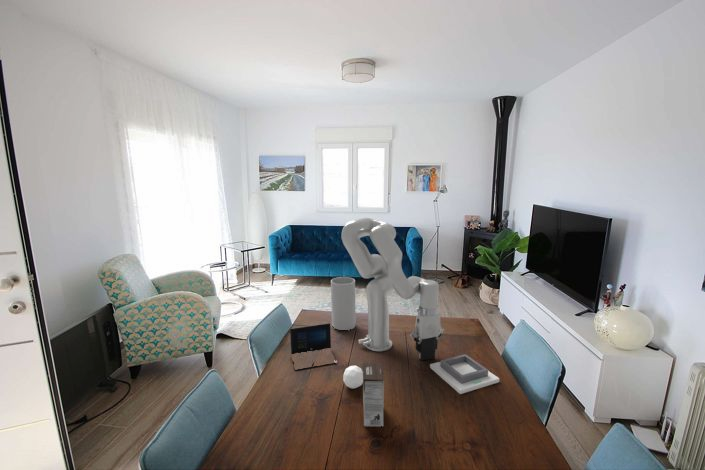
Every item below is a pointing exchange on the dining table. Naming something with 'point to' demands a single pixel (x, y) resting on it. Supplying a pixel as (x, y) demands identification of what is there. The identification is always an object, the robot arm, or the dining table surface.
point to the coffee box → (373, 394)
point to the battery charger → (428, 348)
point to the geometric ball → (353, 377)
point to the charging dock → (464, 373)
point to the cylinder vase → (343, 303)
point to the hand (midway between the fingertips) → (426, 349)
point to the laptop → (310, 338)
